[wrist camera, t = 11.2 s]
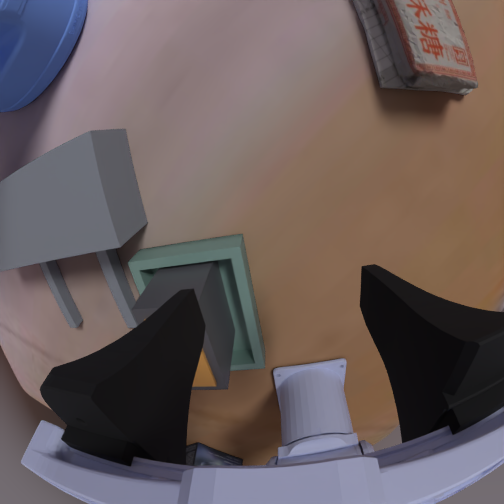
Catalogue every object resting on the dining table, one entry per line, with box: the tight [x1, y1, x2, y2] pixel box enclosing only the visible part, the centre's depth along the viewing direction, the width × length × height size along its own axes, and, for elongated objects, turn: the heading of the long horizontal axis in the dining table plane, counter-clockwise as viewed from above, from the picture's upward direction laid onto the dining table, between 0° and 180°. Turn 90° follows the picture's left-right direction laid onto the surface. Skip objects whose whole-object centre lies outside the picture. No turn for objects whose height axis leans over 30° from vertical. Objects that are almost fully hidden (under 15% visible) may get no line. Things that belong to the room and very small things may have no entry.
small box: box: [186, 442, 243, 466], centre depth 35 cm, size 11×6×10 cm, turn 47°
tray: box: [128, 234, 265, 371], centre depth 23 cm, size 13×9×2 cm
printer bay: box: [0, 129, 148, 328], centre depth 20 cm, size 18×18×5 cm
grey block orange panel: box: [131, 260, 235, 390], centre depth 20 cm, size 8×4×7 cm, turn 9°
